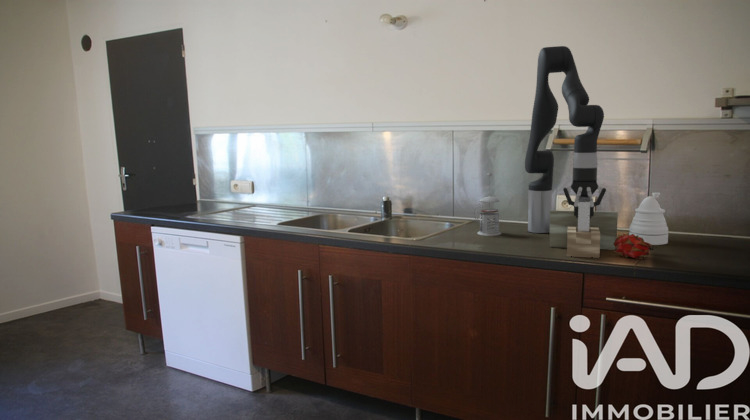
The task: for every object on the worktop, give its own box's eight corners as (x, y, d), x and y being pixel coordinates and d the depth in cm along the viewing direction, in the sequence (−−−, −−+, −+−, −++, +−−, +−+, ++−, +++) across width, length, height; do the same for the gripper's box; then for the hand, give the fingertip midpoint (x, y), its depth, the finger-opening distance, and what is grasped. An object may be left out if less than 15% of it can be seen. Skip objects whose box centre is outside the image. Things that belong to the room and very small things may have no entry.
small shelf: (549, 246, 196) (550, 210, 194) (615, 248, 189) (617, 211, 187) (547, 255, 182) (548, 217, 180) (619, 258, 174) (621, 218, 172)
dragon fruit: (610, 259, 180) (649, 269, 174) (607, 248, 174) (648, 258, 167) (618, 237, 183) (656, 245, 176) (615, 225, 176) (656, 234, 169)
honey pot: (663, 238, 204) (665, 190, 202) (671, 245, 192) (674, 194, 190) (626, 237, 208) (627, 190, 205) (632, 244, 196) (634, 194, 193)
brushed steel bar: (577, 229, 186) (578, 194, 185) (588, 229, 185) (589, 194, 183) (577, 233, 180) (578, 197, 178) (589, 233, 179) (590, 197, 177)
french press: (506, 234, 220) (506, 172, 217) (481, 236, 216) (482, 174, 212) (492, 230, 229) (492, 171, 226) (468, 233, 225) (468, 172, 222)
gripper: (607, 165, 181) (605, 216, 183) (562, 165, 185) (561, 215, 188) (608, 167, 174) (607, 220, 176) (562, 167, 178) (561, 218, 181)
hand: (583, 217), depth 182 cm, fingers closed on brushed steel bar, 3 cm apart
